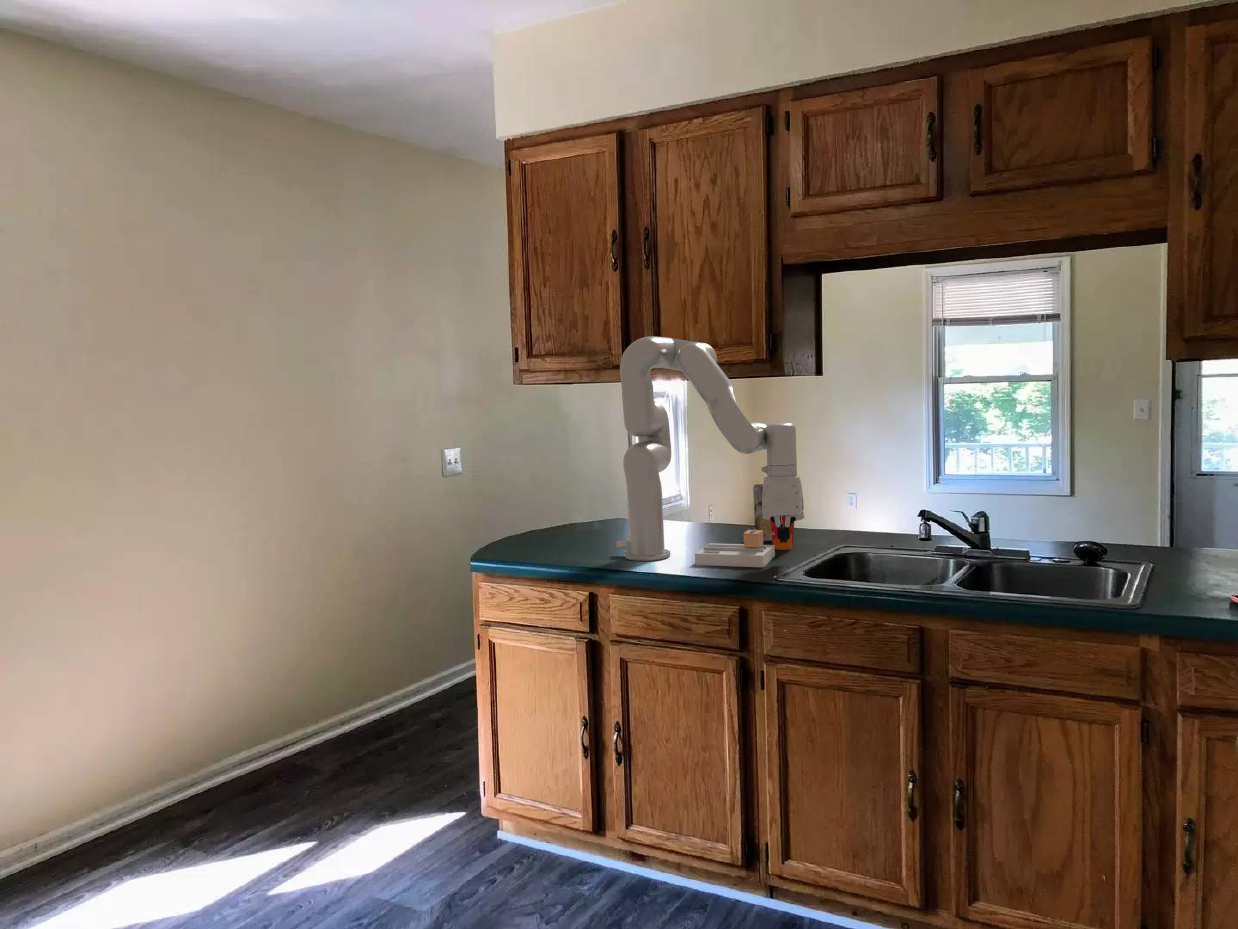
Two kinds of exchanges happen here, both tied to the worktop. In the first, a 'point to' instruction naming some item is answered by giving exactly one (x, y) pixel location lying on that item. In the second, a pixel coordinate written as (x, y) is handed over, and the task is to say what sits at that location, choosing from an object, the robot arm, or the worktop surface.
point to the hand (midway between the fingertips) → (784, 541)
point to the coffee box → (761, 513)
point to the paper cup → (777, 541)
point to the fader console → (734, 555)
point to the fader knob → (753, 538)
